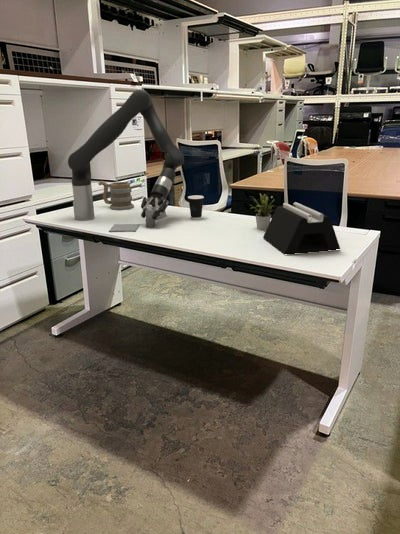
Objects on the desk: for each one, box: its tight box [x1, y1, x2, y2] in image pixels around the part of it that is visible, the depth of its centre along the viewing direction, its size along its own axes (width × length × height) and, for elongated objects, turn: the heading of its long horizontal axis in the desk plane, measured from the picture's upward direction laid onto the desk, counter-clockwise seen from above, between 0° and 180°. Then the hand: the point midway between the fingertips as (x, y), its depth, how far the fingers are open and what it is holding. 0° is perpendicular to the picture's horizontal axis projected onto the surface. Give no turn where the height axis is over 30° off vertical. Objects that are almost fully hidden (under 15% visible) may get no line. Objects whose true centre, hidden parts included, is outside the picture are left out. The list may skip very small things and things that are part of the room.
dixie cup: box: [187, 195, 205, 221], centre depth 208 cm, size 8×8×11 cm
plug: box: [145, 205, 157, 229], centre depth 194 cm, size 4×4×10 cm
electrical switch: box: [149, 204, 167, 221], centre depth 212 cm, size 9×5×9 cm, turn 152°
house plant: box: [249, 193, 276, 231], centre depth 188 cm, size 14×14×16 cm
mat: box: [108, 223, 140, 233], centre depth 194 cm, size 12×12×1 cm
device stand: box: [262, 201, 341, 255], centre depth 164 cm, size 22×22×15 cm
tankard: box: [98, 180, 135, 211], centre depth 236 cm, size 20×13×15 cm, turn 69°
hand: (148, 217), depth 193 cm, fingers open, 5 cm apart
